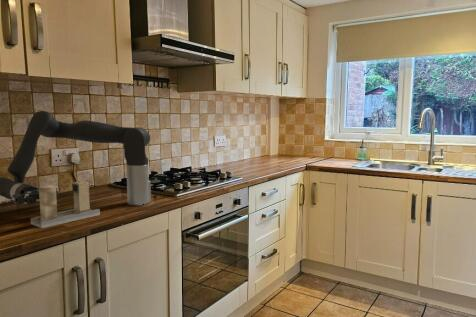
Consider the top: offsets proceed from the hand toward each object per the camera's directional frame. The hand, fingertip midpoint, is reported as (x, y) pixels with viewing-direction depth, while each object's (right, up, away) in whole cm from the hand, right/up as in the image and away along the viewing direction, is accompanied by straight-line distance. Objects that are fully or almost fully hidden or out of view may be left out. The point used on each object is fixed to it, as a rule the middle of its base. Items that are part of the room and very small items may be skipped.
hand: (45, 199), depth 132 cm
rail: (+5, -8, +5) cm, 11 cm away
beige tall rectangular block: (+1, -7, 0) cm, 8 cm away
